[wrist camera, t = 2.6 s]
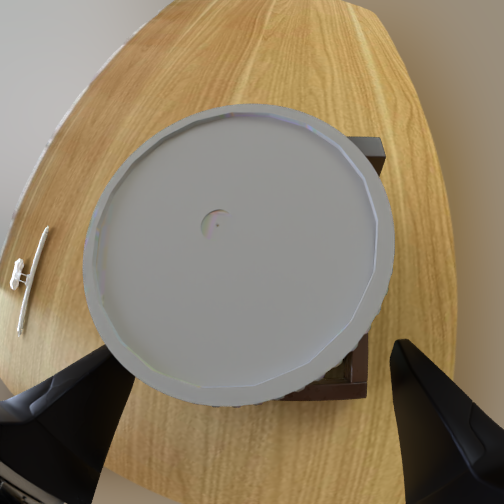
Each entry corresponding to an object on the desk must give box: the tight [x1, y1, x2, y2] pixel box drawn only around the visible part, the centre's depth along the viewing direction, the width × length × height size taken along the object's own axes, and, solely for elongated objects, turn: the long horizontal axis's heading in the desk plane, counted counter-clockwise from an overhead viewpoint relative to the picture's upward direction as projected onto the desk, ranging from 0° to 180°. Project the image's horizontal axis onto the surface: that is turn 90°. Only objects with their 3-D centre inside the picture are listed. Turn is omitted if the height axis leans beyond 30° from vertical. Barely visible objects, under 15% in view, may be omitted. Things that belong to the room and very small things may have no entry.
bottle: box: [83, 104, 395, 408], centre depth 12 cm, size 7×7×15 cm
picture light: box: [10, 226, 49, 336], centre depth 24 cm, size 14×4×2 cm, turn 167°
